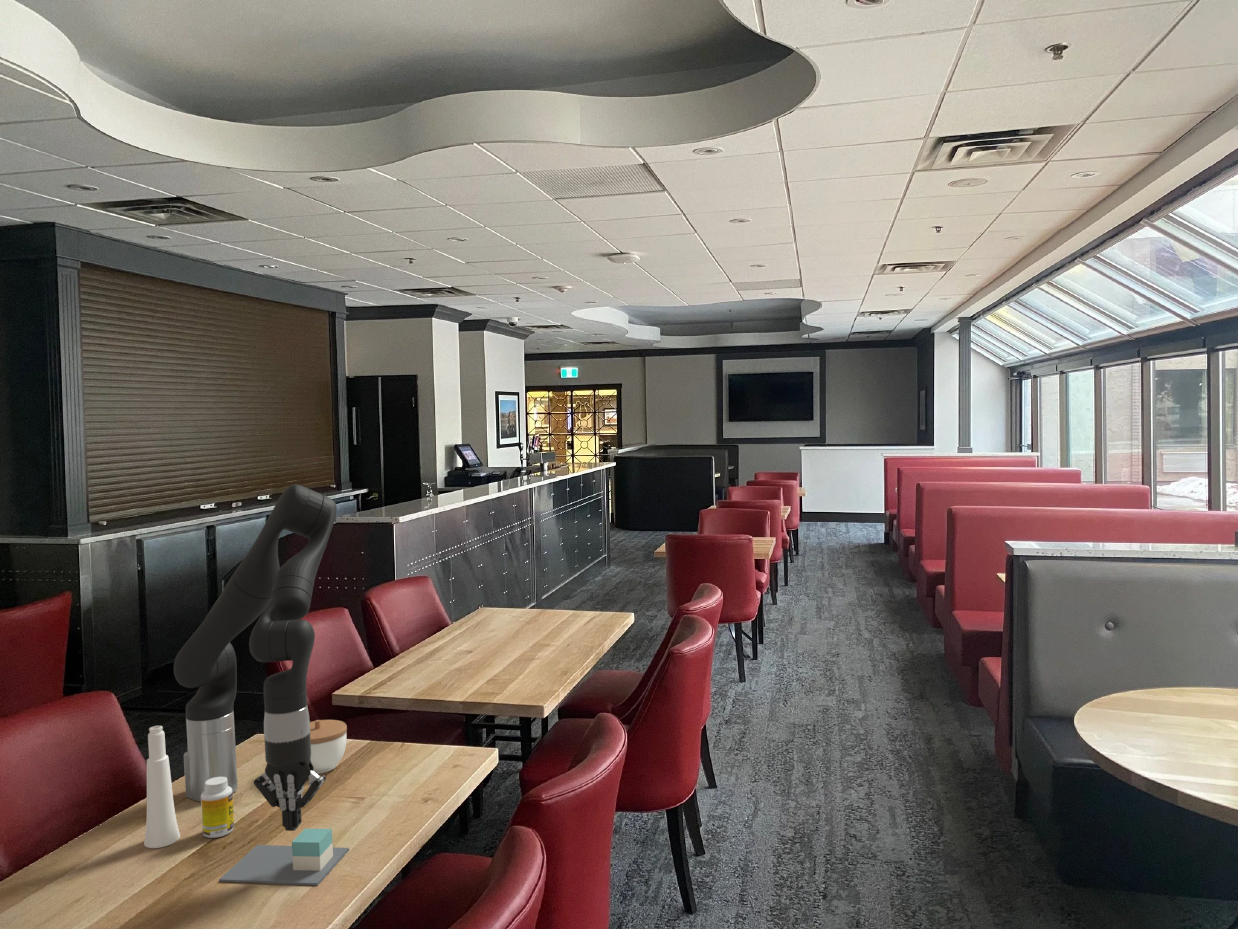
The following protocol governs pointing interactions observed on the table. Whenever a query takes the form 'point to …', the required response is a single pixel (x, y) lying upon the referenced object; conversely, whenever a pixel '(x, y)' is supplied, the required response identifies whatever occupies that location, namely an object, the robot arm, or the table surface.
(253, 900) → the table surface
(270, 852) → the slate rubber mat
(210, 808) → the supplement bottle
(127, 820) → the table surface
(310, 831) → the two-tone cube
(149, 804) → the cosmetic bottle
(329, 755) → the lidded bowl
